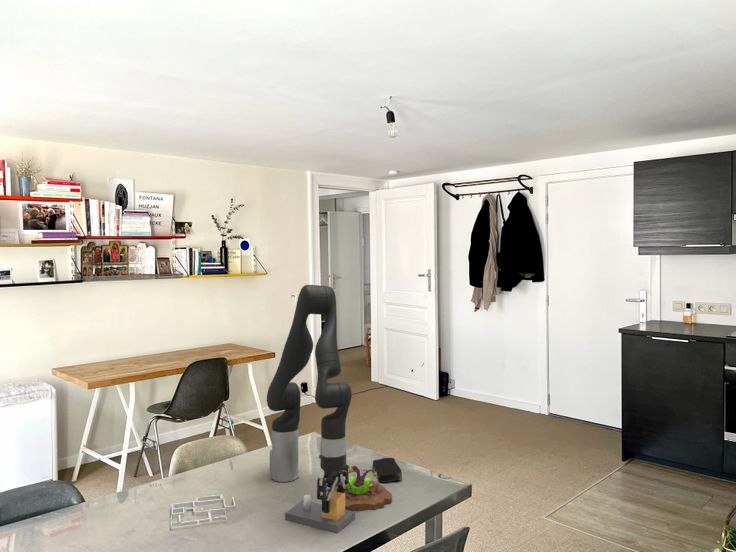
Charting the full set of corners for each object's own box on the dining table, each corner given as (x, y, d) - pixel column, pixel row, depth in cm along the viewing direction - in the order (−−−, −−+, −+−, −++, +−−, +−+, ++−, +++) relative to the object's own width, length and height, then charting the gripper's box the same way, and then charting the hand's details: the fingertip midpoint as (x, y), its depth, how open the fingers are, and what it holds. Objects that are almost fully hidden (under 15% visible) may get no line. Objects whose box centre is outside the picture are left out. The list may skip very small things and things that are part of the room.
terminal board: (285, 519, 166) (285, 499, 166) (303, 506, 175) (303, 487, 175) (338, 533, 158) (338, 511, 158) (354, 518, 167) (355, 498, 167)
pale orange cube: (321, 517, 164) (321, 496, 163) (330, 510, 168) (330, 490, 168) (336, 520, 161) (336, 499, 161) (345, 513, 166) (345, 493, 166)
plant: (318, 492, 187) (319, 458, 186) (373, 483, 194) (373, 451, 194) (339, 517, 168) (340, 480, 168) (398, 507, 176) (399, 471, 176)
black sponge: (403, 483, 195) (403, 472, 195) (379, 484, 193) (379, 474, 193) (393, 466, 211) (393, 456, 211) (371, 467, 209) (371, 457, 209)
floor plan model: (230, 490, 189) (230, 484, 189) (238, 523, 165) (238, 516, 165) (171, 497, 183) (171, 491, 183) (170, 532, 159) (170, 525, 159)
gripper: (334, 442, 172) (334, 495, 173) (309, 457, 159) (309, 513, 160) (356, 446, 169) (356, 500, 169) (332, 461, 156) (331, 519, 156)
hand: (333, 506), depth 164 cm, fingers open, 8 cm apart
